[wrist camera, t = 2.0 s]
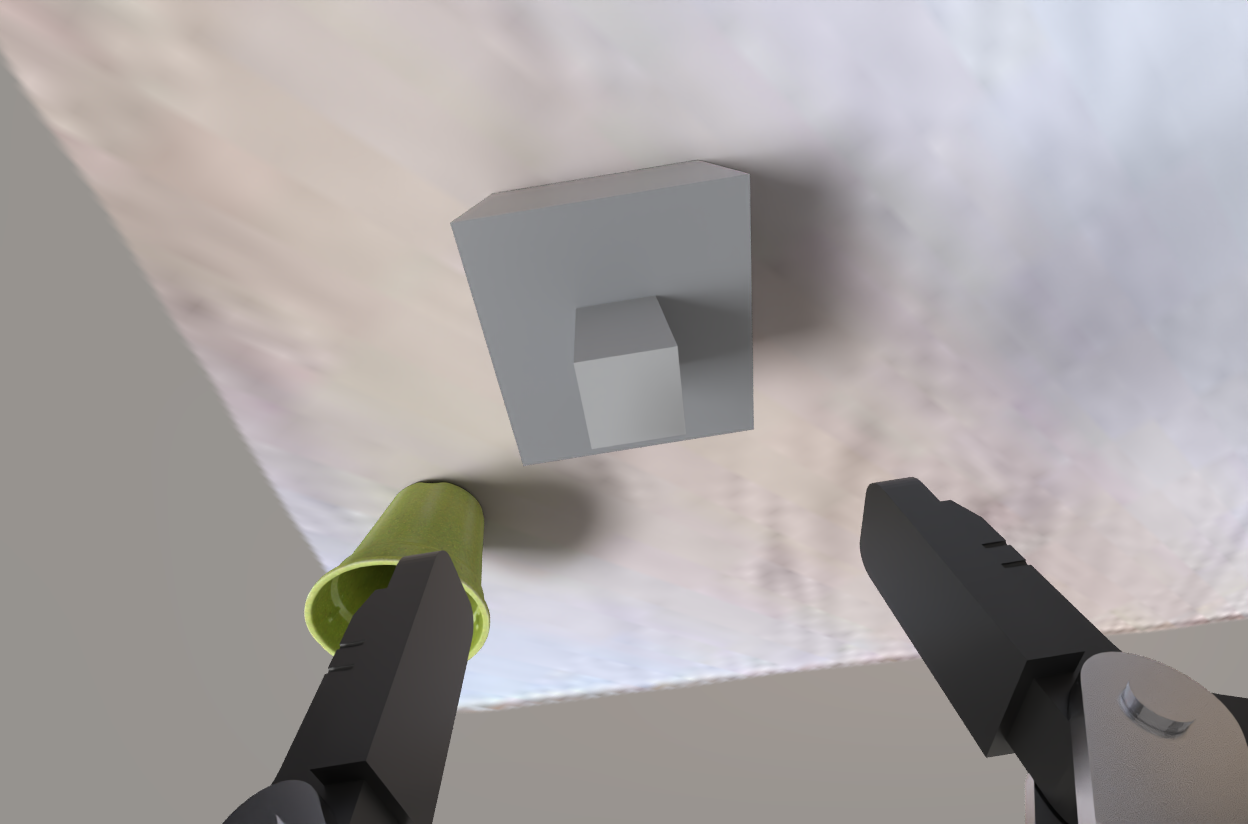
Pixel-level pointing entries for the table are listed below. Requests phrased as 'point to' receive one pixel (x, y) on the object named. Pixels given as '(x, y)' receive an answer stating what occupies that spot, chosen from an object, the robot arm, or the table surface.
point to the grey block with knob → (616, 307)
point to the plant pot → (404, 529)
